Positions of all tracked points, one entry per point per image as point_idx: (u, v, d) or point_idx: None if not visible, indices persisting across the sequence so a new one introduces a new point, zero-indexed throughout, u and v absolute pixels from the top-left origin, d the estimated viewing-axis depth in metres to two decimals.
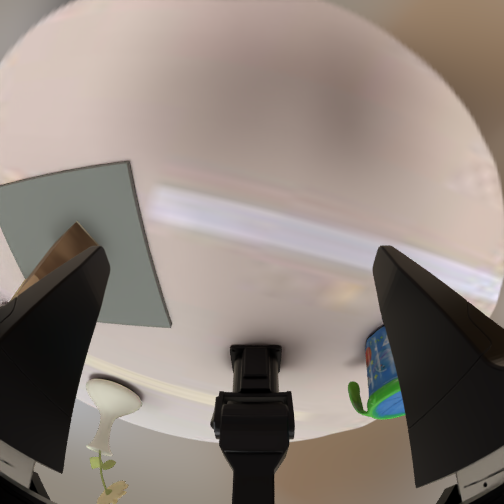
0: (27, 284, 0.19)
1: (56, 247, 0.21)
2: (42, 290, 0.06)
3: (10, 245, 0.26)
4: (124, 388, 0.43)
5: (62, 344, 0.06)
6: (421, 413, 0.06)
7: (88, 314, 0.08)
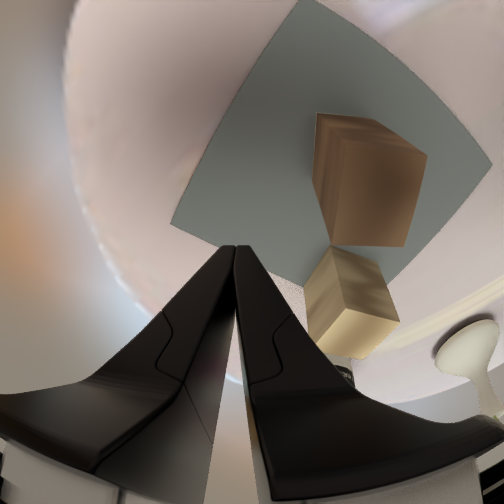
0: (343, 189, 0.12)
1: (330, 125, 0.14)
2: (202, 300, 0.06)
3: None
4: (478, 322, 0.28)
5: (218, 362, 0.06)
6: None
7: (231, 323, 0.08)
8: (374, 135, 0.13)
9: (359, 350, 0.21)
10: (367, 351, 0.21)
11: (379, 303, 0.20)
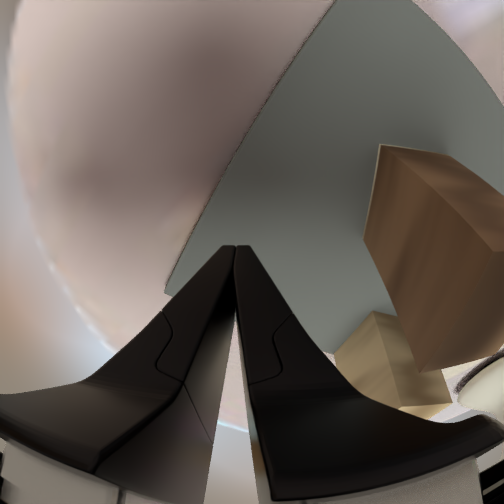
0: (464, 313, 0.06)
1: (428, 182, 0.08)
2: (202, 300, 0.06)
3: None
4: None
5: (218, 362, 0.06)
6: None
7: (231, 323, 0.08)
8: (491, 206, 0.07)
9: None
10: None
11: (432, 385, 0.14)
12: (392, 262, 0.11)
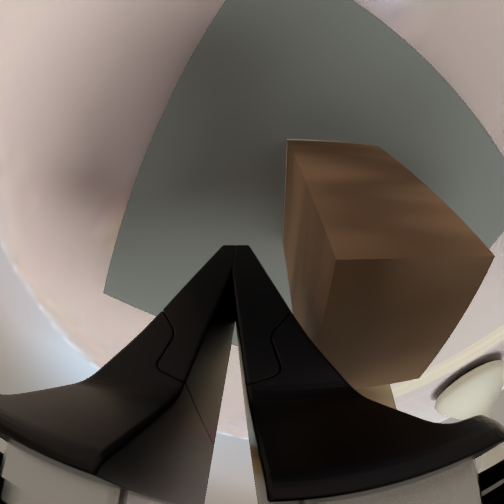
0: (326, 334, 0.06)
1: (307, 176, 0.08)
2: (203, 300, 0.06)
3: None
4: (486, 366, 0.23)
5: (219, 362, 0.06)
6: None
7: (232, 323, 0.08)
8: (392, 199, 0.07)
9: None
10: None
11: (373, 398, 0.14)
12: (292, 267, 0.11)
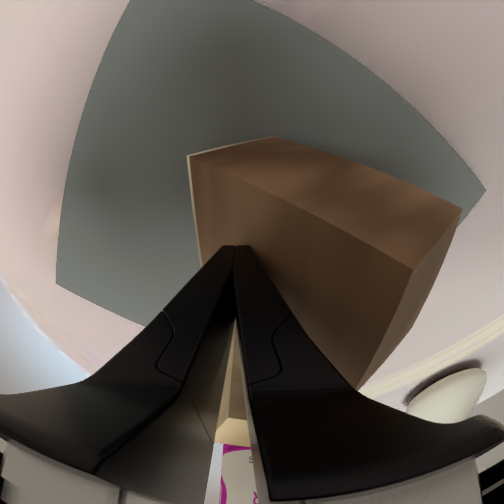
0: (384, 338, 0.06)
1: (274, 192, 0.07)
2: (202, 300, 0.06)
3: None
4: (459, 374, 0.23)
5: (218, 362, 0.06)
6: (249, 433, 0.06)
7: (232, 323, 0.08)
8: (364, 189, 0.07)
9: None
10: None
11: None
12: None
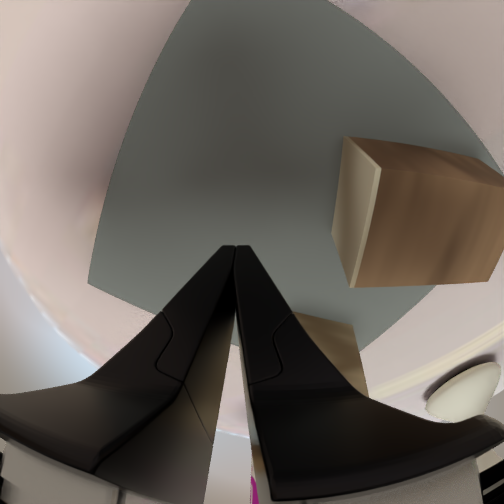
0: None
1: (471, 180, 0.08)
2: (201, 300, 0.06)
3: None
4: (478, 367, 0.23)
5: (218, 362, 0.06)
6: None
7: (231, 323, 0.08)
8: (466, 164, 0.10)
9: None
10: None
11: None
12: (433, 263, 0.10)
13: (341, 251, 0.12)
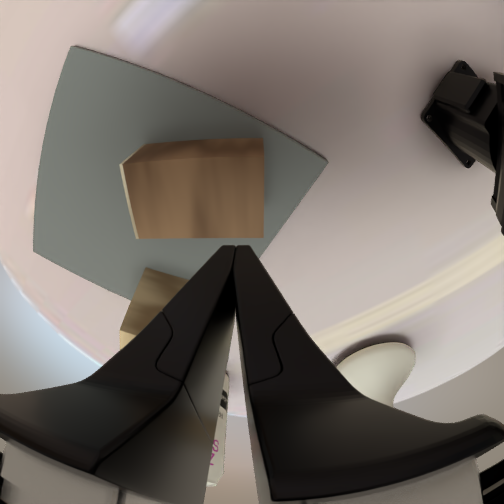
0: None
1: (192, 157, 0.15)
2: (201, 300, 0.06)
3: (94, 281, 0.25)
4: (377, 346, 0.29)
5: (218, 362, 0.06)
6: None
7: (231, 323, 0.08)
8: (221, 146, 0.16)
9: None
10: None
11: None
12: (187, 220, 0.17)
13: None
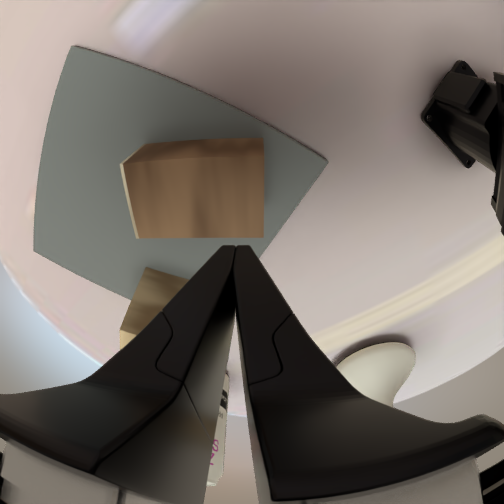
0: None
1: (193, 157, 0.15)
2: (202, 300, 0.06)
3: (94, 280, 0.25)
4: (377, 346, 0.29)
5: (218, 362, 0.06)
6: None
7: (231, 323, 0.08)
8: (221, 145, 0.16)
9: None
10: None
11: None
12: (187, 220, 0.17)
13: None
